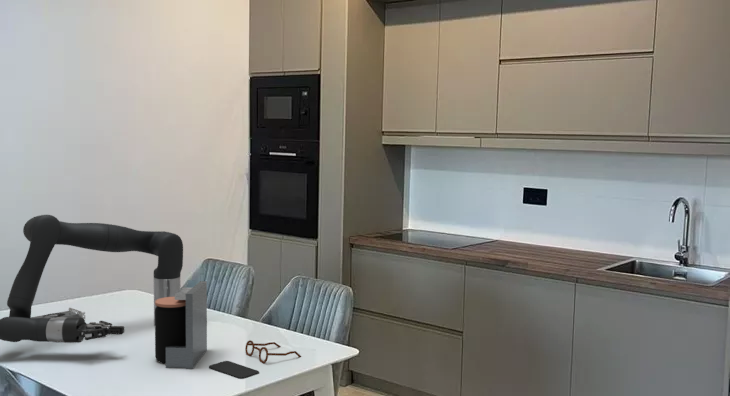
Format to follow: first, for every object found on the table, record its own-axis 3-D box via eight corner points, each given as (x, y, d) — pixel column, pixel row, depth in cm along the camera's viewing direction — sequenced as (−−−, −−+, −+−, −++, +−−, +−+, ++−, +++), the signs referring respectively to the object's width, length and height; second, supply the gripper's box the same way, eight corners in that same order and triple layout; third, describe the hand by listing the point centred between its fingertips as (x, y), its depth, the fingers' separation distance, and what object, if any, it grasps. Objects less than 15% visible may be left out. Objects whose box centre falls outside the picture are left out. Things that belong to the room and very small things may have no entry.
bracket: (165, 368, 198) (164, 293, 197) (181, 349, 216) (181, 280, 215) (192, 368, 198) (192, 293, 197) (206, 349, 216) (206, 281, 215)
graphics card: (71, 306, 258) (85, 311, 249) (71, 316, 258) (85, 321, 250) (24, 314, 246) (37, 320, 237) (25, 325, 246) (38, 330, 238)
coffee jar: (199, 356, 209) (198, 298, 208) (174, 366, 200) (174, 306, 198) (172, 351, 214) (172, 295, 213) (147, 361, 205) (146, 301, 203)
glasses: (244, 355, 213) (244, 339, 213) (280, 347, 221) (280, 332, 221) (265, 366, 203) (265, 349, 203) (302, 358, 211) (302, 342, 211)
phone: (241, 378, 190) (206, 366, 199) (241, 381, 190) (206, 368, 200) (261, 371, 196) (226, 360, 205) (261, 374, 196) (226, 362, 205)
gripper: (55, 323, 200) (115, 324, 200) (74, 312, 213) (130, 312, 213) (56, 348, 200) (116, 349, 200) (75, 335, 213) (131, 336, 214)
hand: (123, 330), depth 207 cm, fingers closed
